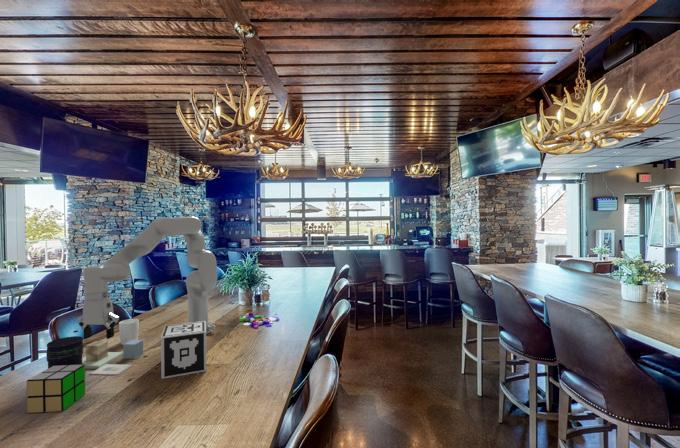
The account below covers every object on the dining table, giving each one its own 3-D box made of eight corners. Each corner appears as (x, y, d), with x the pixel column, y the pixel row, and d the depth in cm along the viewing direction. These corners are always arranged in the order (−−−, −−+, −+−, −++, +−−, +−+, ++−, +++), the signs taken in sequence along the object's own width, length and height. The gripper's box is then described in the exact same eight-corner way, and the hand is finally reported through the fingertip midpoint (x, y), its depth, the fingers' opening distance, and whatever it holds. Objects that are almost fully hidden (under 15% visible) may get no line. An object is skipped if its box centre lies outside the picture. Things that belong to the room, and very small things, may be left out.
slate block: (143, 354, 139) (142, 340, 139) (135, 358, 134) (134, 344, 134) (131, 353, 139) (131, 339, 139) (123, 358, 134) (123, 344, 134)
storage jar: (42, 393, 106) (41, 339, 106) (51, 380, 115) (51, 330, 115) (80, 386, 111) (79, 334, 111) (86, 374, 120) (86, 326, 120)
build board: (123, 355, 137) (123, 352, 137) (99, 368, 124) (99, 365, 124) (94, 354, 138) (94, 351, 138) (67, 368, 125) (67, 364, 125)
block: (165, 362, 130) (165, 325, 130) (205, 356, 136) (205, 320, 136) (161, 379, 116) (160, 337, 116) (206, 371, 122) (206, 331, 122)
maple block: (107, 355, 134) (107, 341, 134) (97, 360, 129) (97, 345, 129) (96, 355, 134) (96, 341, 134) (86, 360, 129) (85, 345, 129)
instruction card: (132, 365, 127) (132, 364, 127) (117, 375, 119) (117, 373, 119) (106, 364, 128) (106, 363, 128) (89, 374, 120) (89, 373, 120)
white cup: (129, 346, 148) (129, 324, 148) (114, 344, 149) (114, 323, 149) (143, 339, 155) (142, 319, 155) (129, 338, 157) (128, 318, 157)
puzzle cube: (53, 396, 105) (53, 365, 105) (86, 394, 106) (85, 364, 106) (26, 414, 95) (25, 380, 95) (62, 412, 96) (62, 378, 96)
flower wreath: (284, 325, 177) (284, 317, 177) (245, 331, 168) (245, 322, 168) (272, 314, 200) (272, 306, 200) (237, 318, 190) (237, 311, 190)
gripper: (123, 293, 135) (125, 334, 135) (84, 294, 136) (86, 334, 136) (109, 298, 127) (112, 341, 128) (68, 299, 128) (71, 341, 129)
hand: (99, 337), depth 132 cm, fingers open, 9 cm apart
